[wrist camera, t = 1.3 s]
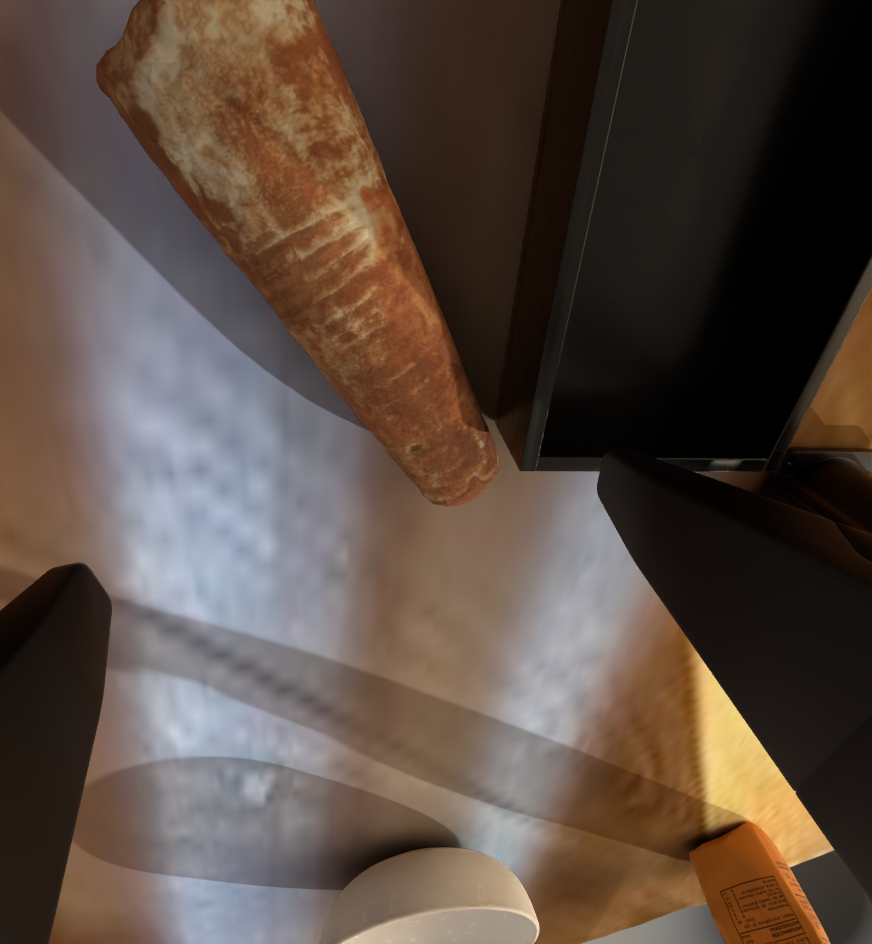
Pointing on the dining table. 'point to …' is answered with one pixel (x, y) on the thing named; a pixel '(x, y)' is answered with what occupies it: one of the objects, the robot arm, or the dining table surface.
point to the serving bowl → (433, 902)
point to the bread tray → (690, 231)
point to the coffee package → (754, 891)
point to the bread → (304, 214)
